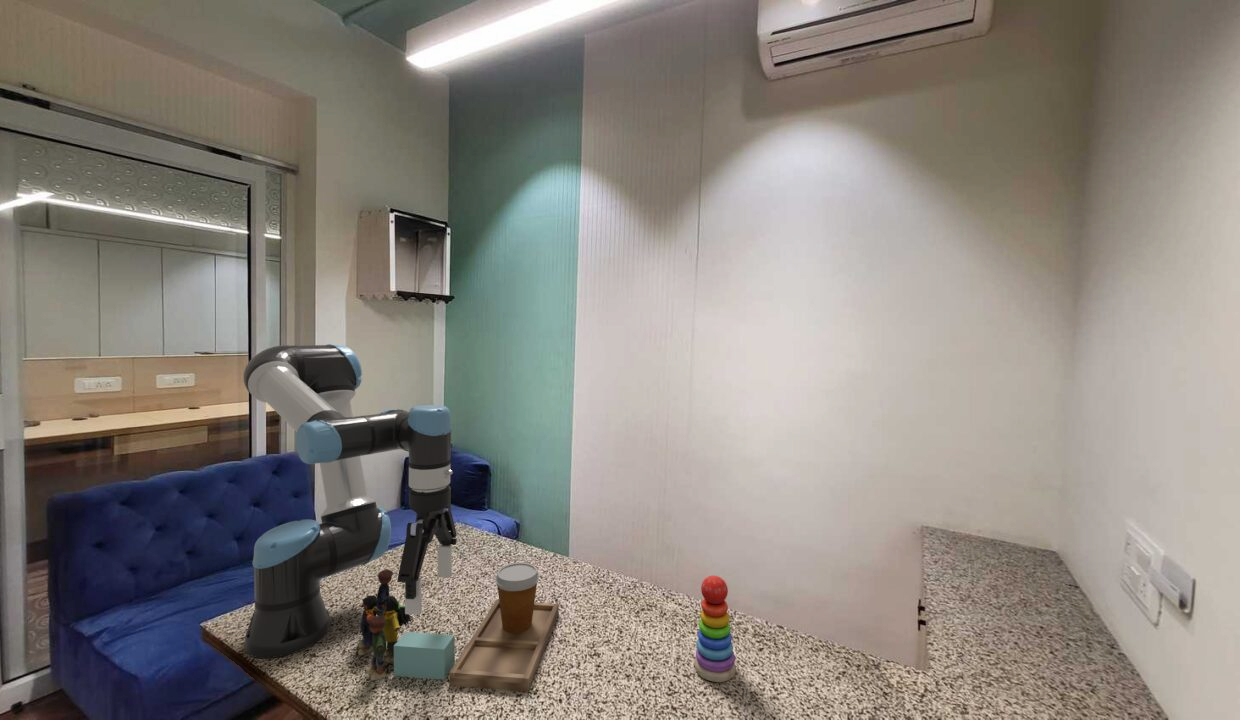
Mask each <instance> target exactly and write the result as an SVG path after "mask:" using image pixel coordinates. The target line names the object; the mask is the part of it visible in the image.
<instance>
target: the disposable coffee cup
mask: <svg viewBox="0 0 1240 720" xmlns="http://www.w3.org/2000/svg"><path fill="white" fill-rule="evenodd" d="M539 579H540V573H539V572H538V568H537V567H536V566H535V565H534V564H531V563H528V562H513V563H509V564H506V565H504V566H502V567H500V568H498V570H497V573H496V575H495V577H494V582H495V584H496V585H495V586H497V594H498V600H499V603H500V611H501V619H502V627H503V629H504V630H505V631H506V632H509V633H521V632H524V631H526V630H528V629H529V628H530V627H531V625H532V617H533V610H534V602H535V600H536V593H537V584H538V582H539Z"/></svg>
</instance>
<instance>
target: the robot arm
mask: <svg viewBox="0 0 1240 720" xmlns="http://www.w3.org/2000/svg"><path fill="white" fill-rule="evenodd" d="M243 371H244V372H243V378H242V379H243V384H244V387H245V389H246V390H247V392H249V394H250V395H251V396H252V397H253V398H254V399H256V400H257V401H260V402H261V403H262V402H263V403H266V404H268V405H269V407H271V409H273V411H275V412H276V413H277V414H278V415H279V416H280V417H281V418H282V419H283V420H284V421H285V423H287V424H288V425H289V426H290V427H291V428H292V429H293V430H294V431H295V432H296V434H295V449H296V452H297V454H298V458H299V459H300V460H301V461H302V463H305V464H307V465H313V464H319V468H320V473H321V480H322V483H323V484H322V485H323V492H324V497H325V502H326V507H325V509H324V510H323V512H322V513H321V514H320V520H321V523H319V522H318V521H317V520H315V519H306V518H305V519H301V520H293V521H289V522H286V523H283V524H280V525H278V526H275V527H273V528H271V529H269V530H267V531H266V532H264V533H262V535H261V536H259V537H258V538H257V540H256V541H255V544H254V547H253V557H252V566H253V589H254V610H253V613H252V616H251V619H250V622H249V624H248V627H247V631H246V633H245V635H244V650H245V652H246V653H247V655H249V656H251V657H254V658H262V659H268V658H270V659H271V658H276V657H283V656H287V655H290V654H294V653H296V652H299V651H301V650H304V649H306V648H308V647H311V646H312V645H314V644H316V643H317V642H319V641H320V640H321V639H322V638H323V637H325V636H326V635H327V633H328V632H329V630H330V626H331V622H330V621H331V615H330V612H329V611H328V609H327V607H326V604H325V602H324V600H323V597H322V594H321V580H322V579H325V578H328V577H330V576H334V575H336V574H340V573H343V572H345V571H348V570H351V569H354V568H357V567H359V566H363V565H367V564H369V563H370V562H373V561H375V560H378V559H380V558H381V557H383V556H384V555H385V553H386V552H387V550H388V548H389V546H390V543H391V537H392V524H391V523H392V522H391V520H390V516H389V515H388V512H387V510H385V508H382V507H377V502H376V500H375V499H373V498H371V497H369V495H368V491H367V488H366V482H365V480H366V479H365V475H364V469H363V463H362V460H361V457H362V456H367V455H372V454H380V453H385V452H390V451H391V452H392V451H396V450H402V451H406V452H408V487H409V488H410V489H409V490H408V506H409V509H410V510H412V511H413V512H414V513H415V514H416V518H415V522H408V523H407V525H406V532H405V533H406V536H405V542H404V546H403V551H402V556H401V560H400V566H399V571H398V576H397V582H398V583H404V606H405V614H409V615H411V616H412V615H416V616H417V615H421V614H422V610H423V609H422V602H423V600H422V597H423V596H422V594H423V593H422V590H423V589H422V587H423V586H422V583H423V582H422V577H420V575H421V571H422V567H423V565H424V564H423V563H424V561H425V558H426V557H425V556H426V554H427V550H428V546H429V544H430V543H432V541H433V538H434V536H435V538H436V539H437V542H438V543H439V545H438V546H437V578H443V579H444V578H445V579H446V578H447V579H451V578H452V577H453V576H452V573H453V571H452V570H453V569H452V568H453V567H452V566H453V561H452V560H453V558H452V557H453V556H452V555H453V551H452V549H453V547H452V546H454V545H456V544H457V542H458V541H457V530H456V529H457V528H456V526H455V521H454V518H453V514H452V508H451V507H452V505H451V503H452V502H451V501H452V500H451V498H452V494H451V493H452V490H451V489H452V488H451V486H450V484H451V476H452V474H453V473H454V472H453V470H451V460H452V459H451V457H452V455H451V453H452V423H451V422H452V421H451V411H450V409H449V408H448V407H447V406H445V405H437V404H427V405H417V406H413V407H411V408H410V409H409V410H408V411H407V410H404V409H399V408H397V409H386V410H384V411H382V412H380V413H376V414H366V415H360V416H359V415H358V416H353V410H352V404H351V401H352V399H353V398H355V396H356V390H357V389H358V388H359V387H360V386H361V383H362V380H363V379H362V376H363V372H362V366H361V362H360V360H359V358H358V356H357V353H355V352H354V350H353V349H351V348H350V347H348V346H345V345H338V344H337V345H336V344H335V345H334V344H320V345H319V344H317V345H313V344H311V345H310V344H309V345H305V344H304V345H298V344H297V345H289V344H287V345H285V344H283V345H276V346H275V345H274V346H272V347H268V348H266V349H263V350H262V351H260V352H258V353H257V354H255V355H254V356H253V357H252V358H251V359H250V360H249V362H248V363H247V365H246V366H245V367H244V370H243Z"/></svg>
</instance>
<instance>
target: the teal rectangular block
mask: <svg viewBox="0 0 1240 720" xmlns="http://www.w3.org/2000/svg"><path fill="white" fill-rule="evenodd" d="M455 638H456V637H455V634H446V633H445V634H444V633H431V632H415V631H405V632H404V633H403V634H402V636H401V637H400V638H399V639H398V640H397V643H396V644H395V645H394V661H393V676H395V677H405V678H407V677H409V678H417V679H418V678H421V679H432V680H433V679H434V680H442V681H443V680H445V679H447V677H448V676H449V672H450V671H451V669H452V667H453V666H454V664H455V663H456V659H455V658H456V656H455V651H456V650H455V648H456V647H455V645H456V643H455V642H456V641H455Z"/></svg>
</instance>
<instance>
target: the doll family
mask: <svg viewBox="0 0 1240 720" xmlns="http://www.w3.org/2000/svg"><path fill="white" fill-rule="evenodd" d="M393 575H394V573H393V571H392V570H391V569H383V570H381V571H379V572H378V574H377V579H378V580H379V581H378V582H379V584H380V585H379V587H378V590H377V595H374V594H372V595H370V594H369V595H367V596H366V597H363V599H362V600H361V601H362V603H361V602H360V601H359V602H357V604H358V605H360V607H361V608H363V611H362V615H361V623H360V630H361V634H362V640H361V641H360V642H359V643H358V645H357V646H358V648H359V650H358V652H357V654H358V655H359V656H365V655H367V654H369V653H370V652H372V653H373V655H372V657H371V661H370V664H371V665H369V666H368V667H367V668H366V670H365V673H366V674H367V675H370V678H369V679H370V680H371V681H376V680H380V679H384V677H386V676H387V672H386V671H384V665H385V662H386V663H392V662H393V663H394V645H395V644H396V643H397V641H398V640H399V639H398V634H399V632H400V630H401V627H402V626H406V627H407V626H408V625H409V622H412V620H414V619H415V618H414V617H413V616H412V615H411V614H405V605H400V601H399V600H397V598H396V597H395V596H394V595H390V586H389V584H390V582H391V580H392V578H393ZM411 619H412V620H411ZM384 656H385V661H383V659H384Z"/></svg>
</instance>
